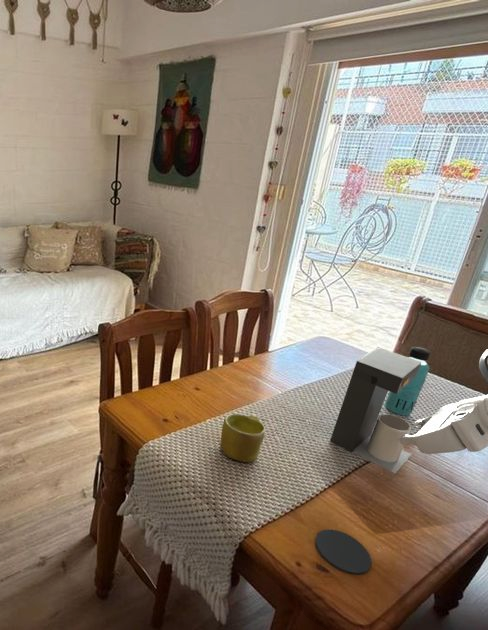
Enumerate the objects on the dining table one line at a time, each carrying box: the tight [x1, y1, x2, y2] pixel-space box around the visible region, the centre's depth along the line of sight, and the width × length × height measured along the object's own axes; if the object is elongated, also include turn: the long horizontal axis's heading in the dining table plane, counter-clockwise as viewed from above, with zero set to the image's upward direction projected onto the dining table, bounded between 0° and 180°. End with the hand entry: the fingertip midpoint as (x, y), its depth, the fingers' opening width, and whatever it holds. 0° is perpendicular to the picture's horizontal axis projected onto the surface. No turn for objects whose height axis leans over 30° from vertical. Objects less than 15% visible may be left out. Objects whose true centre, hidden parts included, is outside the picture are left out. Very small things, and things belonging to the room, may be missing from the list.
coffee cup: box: [367, 413, 412, 462], centre depth 103 cm, size 6×6×9 cm
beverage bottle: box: [384, 346, 431, 416], centre depth 118 cm, size 6×7×20 cm
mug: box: [220, 413, 266, 463], centre depth 105 cm, size 12×10×10 cm
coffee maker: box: [329, 346, 422, 475], centre depth 102 cm, size 14×12×24 cm
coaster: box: [314, 528, 372, 575], centre depth 81 cm, size 9×9×1 cm
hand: (409, 432), depth 100 cm, fingers open, 8 cm apart
